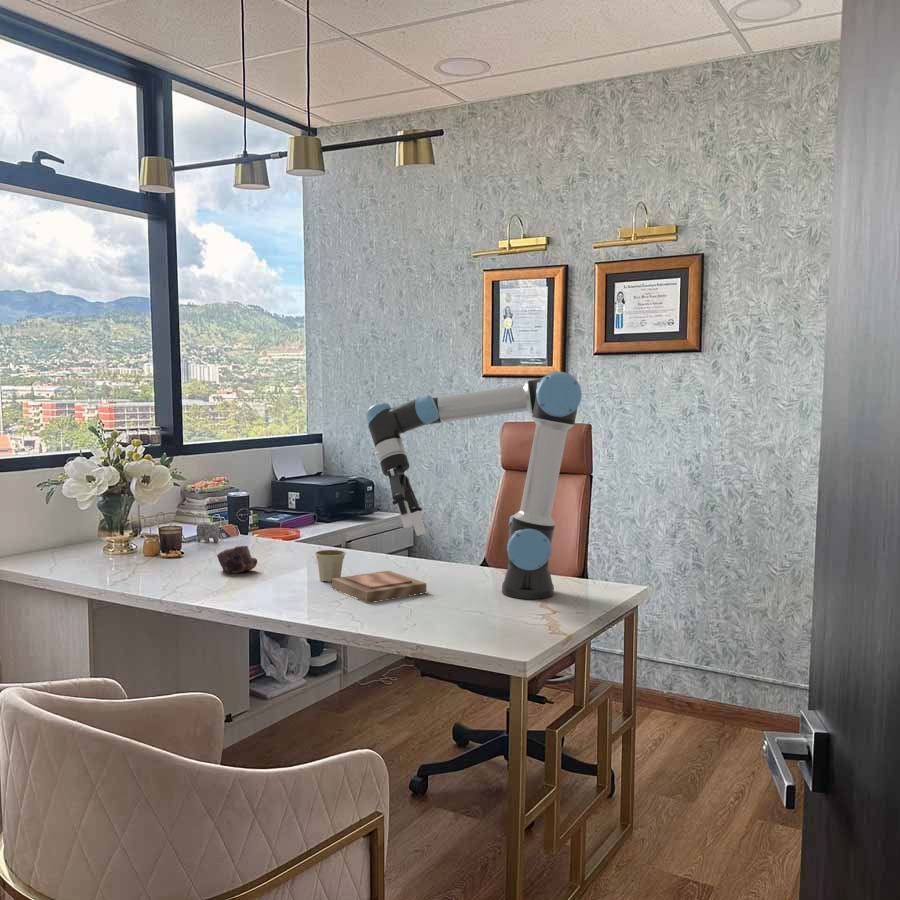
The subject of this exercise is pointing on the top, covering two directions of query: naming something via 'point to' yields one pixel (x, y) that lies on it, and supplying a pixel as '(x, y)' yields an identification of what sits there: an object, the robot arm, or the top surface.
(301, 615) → the top surface
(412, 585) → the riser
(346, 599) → the top surface
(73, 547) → the top surface
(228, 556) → the rock
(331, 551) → the flower pot
